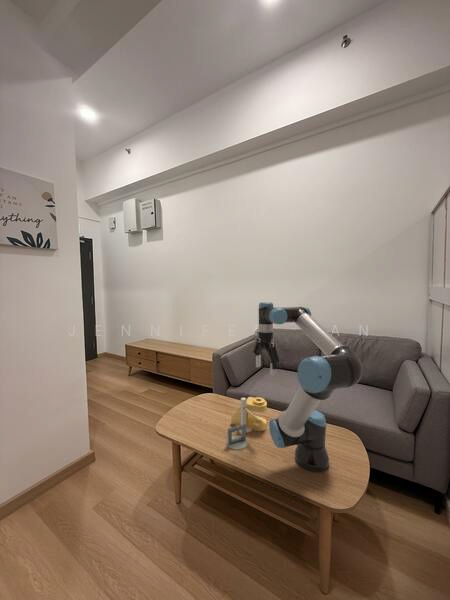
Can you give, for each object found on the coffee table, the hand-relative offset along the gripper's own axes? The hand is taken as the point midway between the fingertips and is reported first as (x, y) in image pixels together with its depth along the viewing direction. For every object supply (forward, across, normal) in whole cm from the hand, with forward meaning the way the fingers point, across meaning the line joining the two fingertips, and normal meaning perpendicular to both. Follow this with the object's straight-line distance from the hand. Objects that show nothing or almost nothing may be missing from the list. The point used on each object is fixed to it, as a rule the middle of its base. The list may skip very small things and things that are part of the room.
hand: (265, 370), depth 131 cm
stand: (+37, +5, +7) cm, 38 cm away
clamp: (+37, +14, +1) cm, 39 cm away
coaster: (+37, +2, +16) cm, 40 cm away
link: (+36, +2, +16) cm, 40 cm away
